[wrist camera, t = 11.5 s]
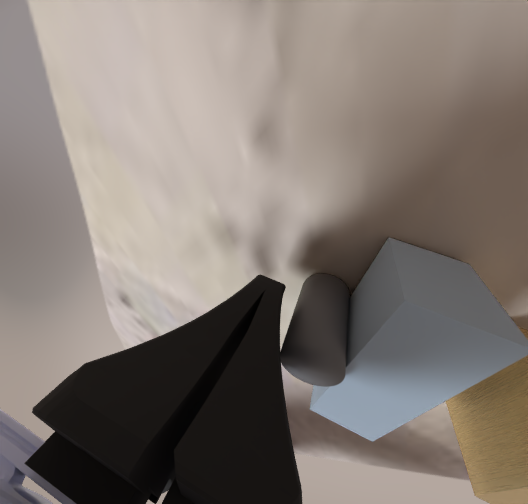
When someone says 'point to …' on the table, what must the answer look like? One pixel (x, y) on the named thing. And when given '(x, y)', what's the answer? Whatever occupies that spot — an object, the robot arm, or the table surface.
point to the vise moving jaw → (397, 339)
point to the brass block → (495, 433)
